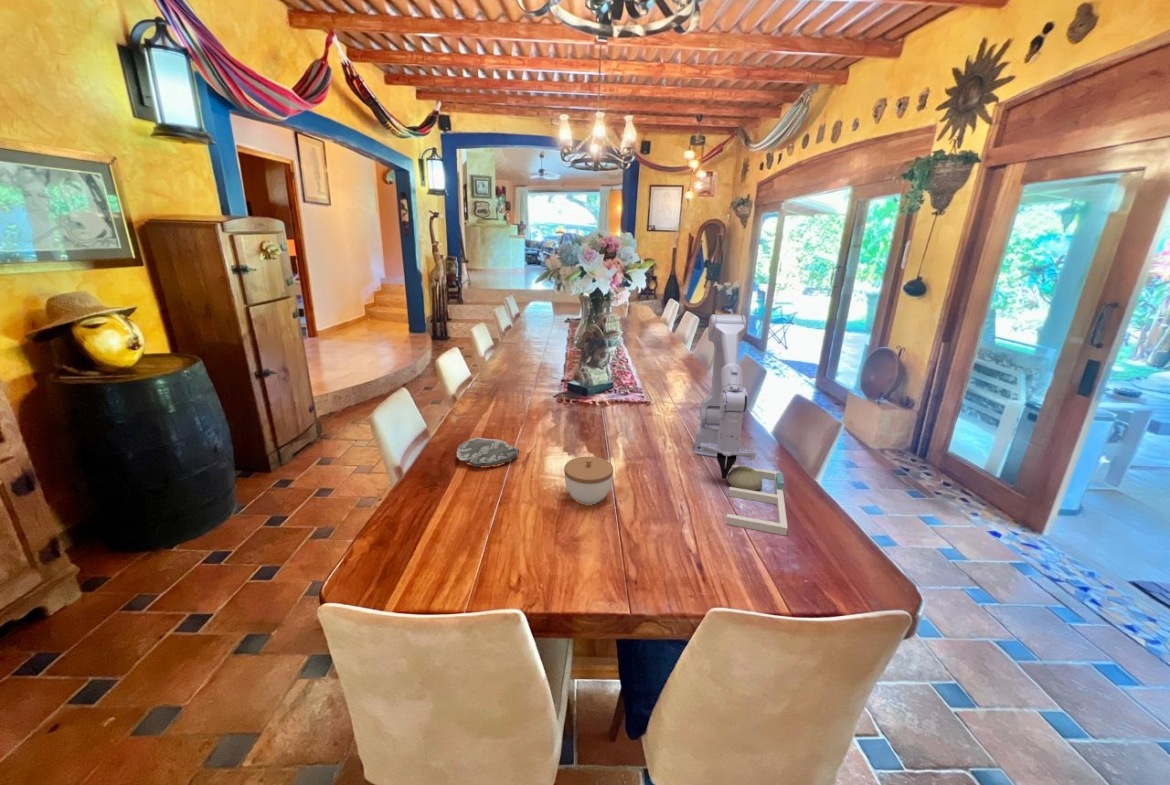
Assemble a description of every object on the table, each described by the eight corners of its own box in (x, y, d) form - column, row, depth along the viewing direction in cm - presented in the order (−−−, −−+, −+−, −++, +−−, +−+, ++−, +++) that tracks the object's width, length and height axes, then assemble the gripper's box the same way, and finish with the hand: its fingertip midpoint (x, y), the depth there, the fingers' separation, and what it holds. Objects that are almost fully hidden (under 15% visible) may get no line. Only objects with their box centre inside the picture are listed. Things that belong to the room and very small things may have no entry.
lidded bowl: (577, 516, 115) (577, 476, 111) (556, 492, 125) (556, 455, 122) (621, 503, 120) (622, 465, 117) (597, 481, 131) (598, 446, 127)
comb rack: (726, 524, 112) (727, 509, 111) (730, 470, 138) (732, 458, 137) (786, 535, 108) (788, 520, 107) (779, 478, 134) (781, 465, 133)
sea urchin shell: (761, 472, 133) (765, 463, 126) (759, 499, 130) (763, 491, 123) (728, 467, 136) (729, 458, 129) (725, 493, 133) (727, 485, 126)
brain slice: (441, 463, 141) (441, 454, 140) (478, 442, 155) (478, 434, 155) (493, 478, 133) (493, 469, 132) (527, 455, 147) (527, 446, 146)
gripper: (700, 434, 126) (696, 479, 130) (757, 442, 121) (751, 488, 126) (703, 425, 132) (699, 468, 136) (757, 432, 128) (751, 476, 132)
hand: (724, 477), depth 131 cm, fingers closed
